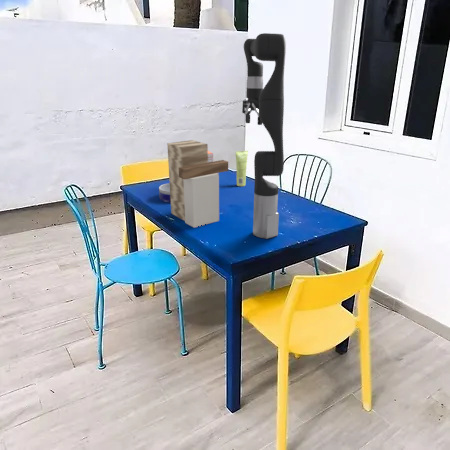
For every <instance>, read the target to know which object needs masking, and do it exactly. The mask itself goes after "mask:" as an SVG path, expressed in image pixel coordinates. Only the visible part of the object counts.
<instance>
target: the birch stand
mask: <svg viewBox="0 0 450 450" xmlns="http://www.w3.org/2000/svg"><path fill="white" fill-rule="evenodd" d="M166 145H167V159H168V160H167V161H168V162H167V163H168V177H169V178H168V180H169V183H170V198H171V202H170V212H171V214H172V215H173V216H175V217H177V218H178V219H180V220H182V221H184V222H185V206H184V183H183V179H182V178H180V177H179V167H184V166H190V165H196V164H202V163H208V151H209V148H208V146H209V145H208V143H205V142H201V141H197V140H193V139H190V140H182V141H175V142H168V143H167V144H166Z"/></svg>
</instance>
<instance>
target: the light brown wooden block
mask: <svg viewBox="0 0 450 450" xmlns="http://www.w3.org/2000/svg"><path fill="white" fill-rule="evenodd" d="M228 171H229V161H227V160H224V159H220V160H219V159H218V160H213V162H208V163H202V164H196V165H190V166H184V167H179V177H180V178H182V179H189V178H194V177H199V176H204V175H209V174H215V173H218V174H220V173H224V172H228Z"/></svg>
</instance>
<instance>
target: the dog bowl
mask: <svg viewBox="0 0 450 450" xmlns="http://www.w3.org/2000/svg"><path fill="white" fill-rule="evenodd" d="M158 195H159V200H160V201H161V202H165V203H171V198H170V182H168V183H164V184H161V185H159V187H158Z"/></svg>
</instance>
